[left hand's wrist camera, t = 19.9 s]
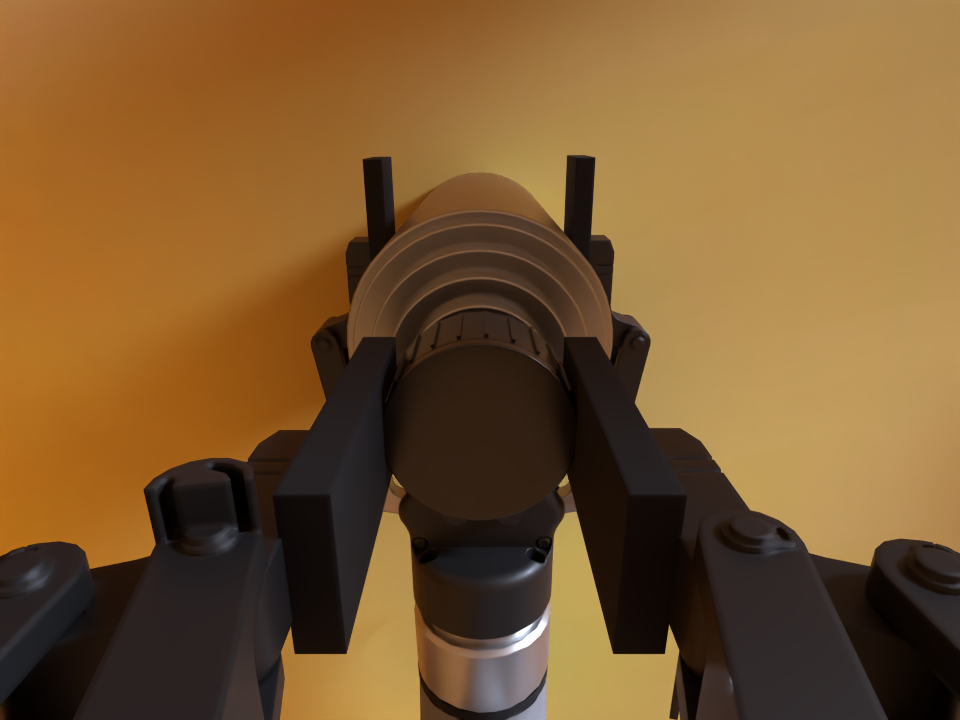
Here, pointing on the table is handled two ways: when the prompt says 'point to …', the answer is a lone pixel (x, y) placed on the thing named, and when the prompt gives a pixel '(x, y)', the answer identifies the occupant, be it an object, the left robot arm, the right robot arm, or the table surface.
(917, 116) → the table surface
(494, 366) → the cap
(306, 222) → the table surface
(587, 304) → the bottle
